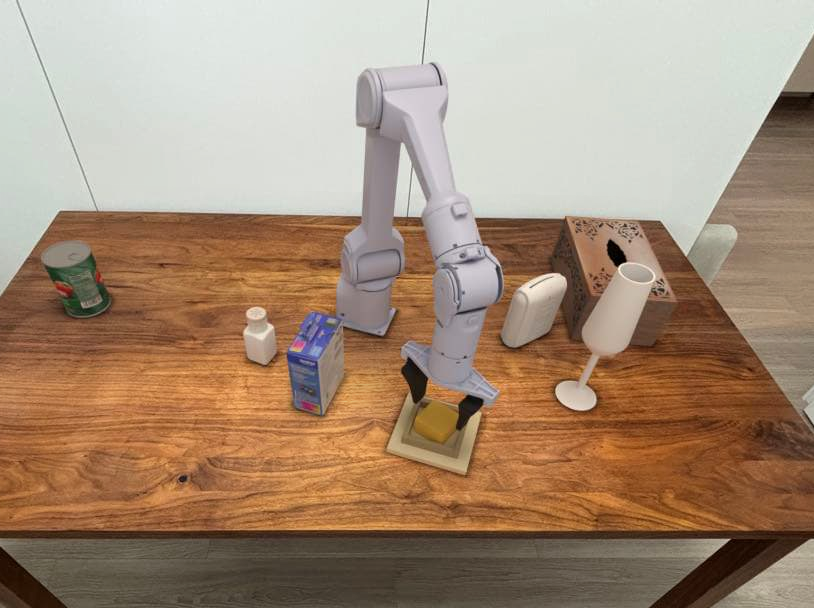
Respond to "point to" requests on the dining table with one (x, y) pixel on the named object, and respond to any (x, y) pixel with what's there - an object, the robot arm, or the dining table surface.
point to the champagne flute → (609, 328)
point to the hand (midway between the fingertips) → (439, 412)
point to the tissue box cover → (607, 272)
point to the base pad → (432, 453)
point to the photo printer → (533, 309)
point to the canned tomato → (76, 278)
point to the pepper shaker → (259, 336)
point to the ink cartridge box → (316, 362)
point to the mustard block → (436, 422)
